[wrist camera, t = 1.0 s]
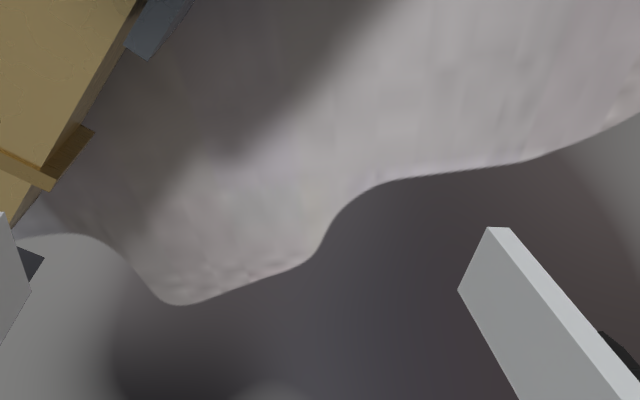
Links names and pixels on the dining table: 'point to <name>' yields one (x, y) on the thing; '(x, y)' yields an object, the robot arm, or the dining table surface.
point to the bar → (52, 87)
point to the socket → (29, 262)
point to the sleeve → (155, 25)
